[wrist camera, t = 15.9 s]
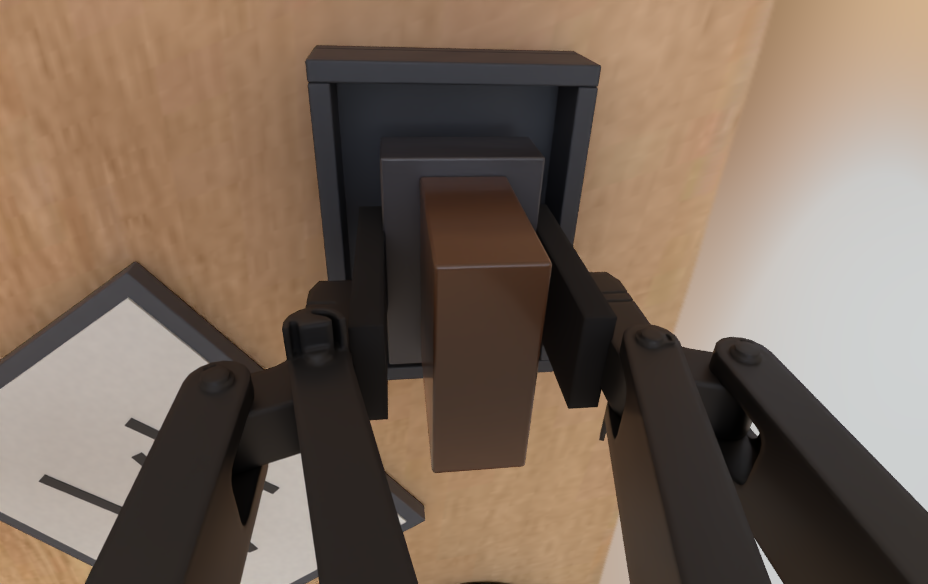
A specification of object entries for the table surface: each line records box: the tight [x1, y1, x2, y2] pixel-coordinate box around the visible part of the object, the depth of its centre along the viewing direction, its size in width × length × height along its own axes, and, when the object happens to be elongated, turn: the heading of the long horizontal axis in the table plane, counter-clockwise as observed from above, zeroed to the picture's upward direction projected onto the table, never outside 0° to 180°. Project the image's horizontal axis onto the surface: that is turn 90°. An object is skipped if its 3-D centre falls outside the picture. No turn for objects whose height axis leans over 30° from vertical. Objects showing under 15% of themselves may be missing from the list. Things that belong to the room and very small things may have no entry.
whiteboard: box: [0, 262, 425, 584], centre depth 25 cm, size 18×14×1 cm
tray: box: [305, 45, 601, 380], centre depth 19 cm, size 11×8×3 cm
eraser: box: [380, 137, 552, 473], centre depth 15 cm, size 7×4×7 cm, turn 178°
